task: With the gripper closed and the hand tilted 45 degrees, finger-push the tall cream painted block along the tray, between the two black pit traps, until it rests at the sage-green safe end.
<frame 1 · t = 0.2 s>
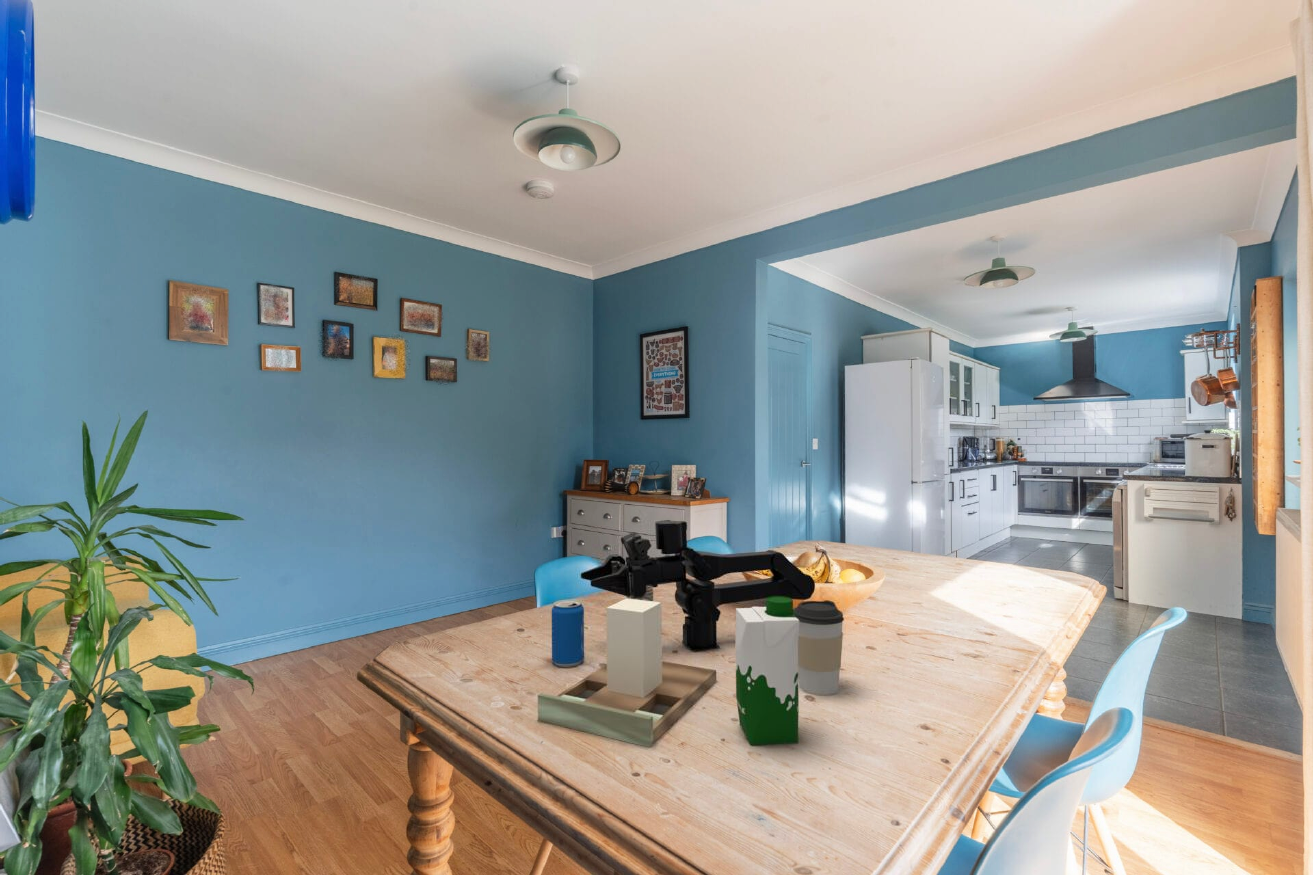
hand: (585, 579, 122), 16 cm above the table, tool horizontal, fingers open, 9 cm apart
coffee cup: (818, 688, 107), on the table
beverage can: (568, 663, 121), on the table
cream block: (635, 686, 103), point 2 cm above the table, touching tray
milk carton: (767, 734, 90), on the table
tray: (635, 698, 103), on the table
carving: (639, 634, 139), on the table
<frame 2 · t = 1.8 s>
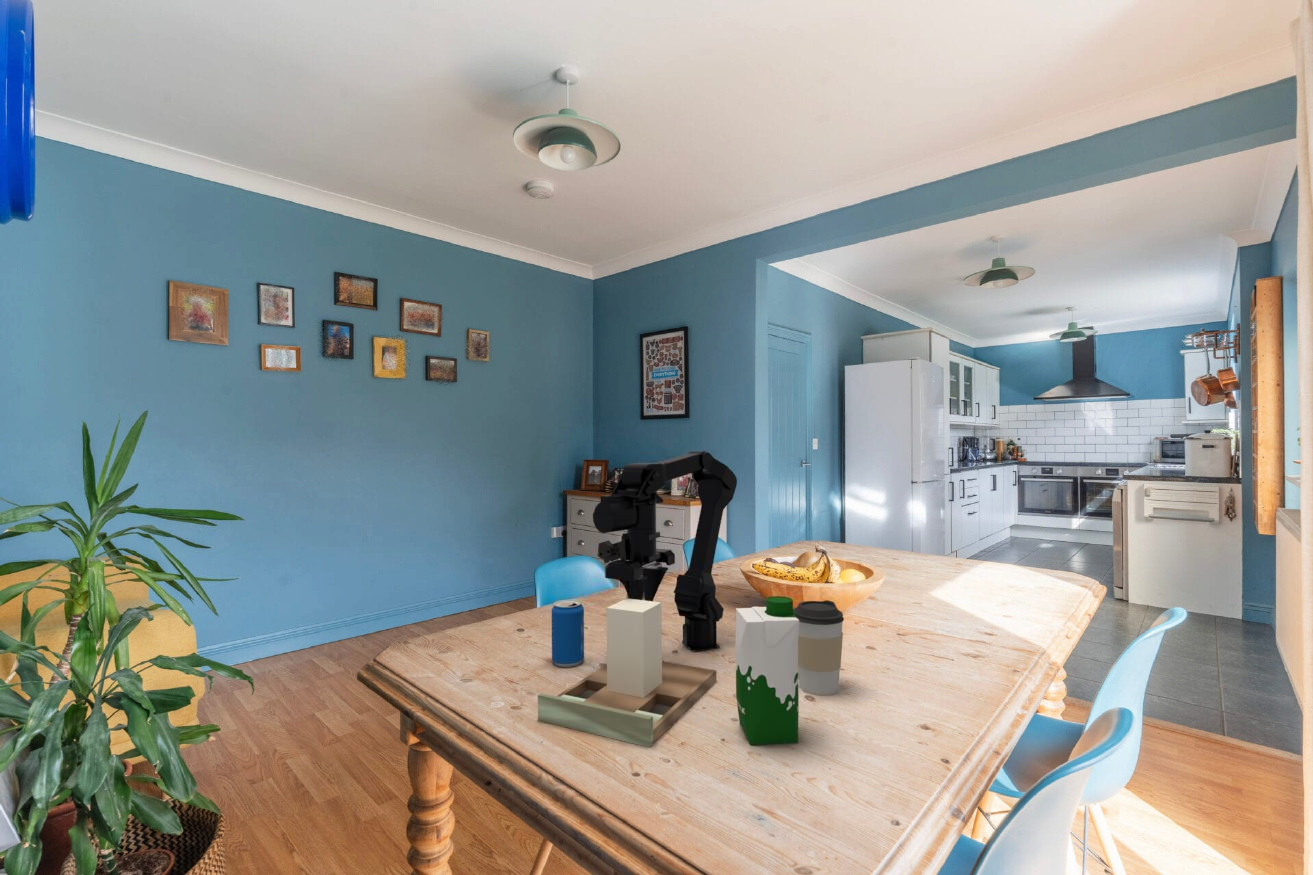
hand: (642, 607, 117), 12 cm above the table, tool pointing down, fingers open, 5 cm apart
nothing on the table moved.
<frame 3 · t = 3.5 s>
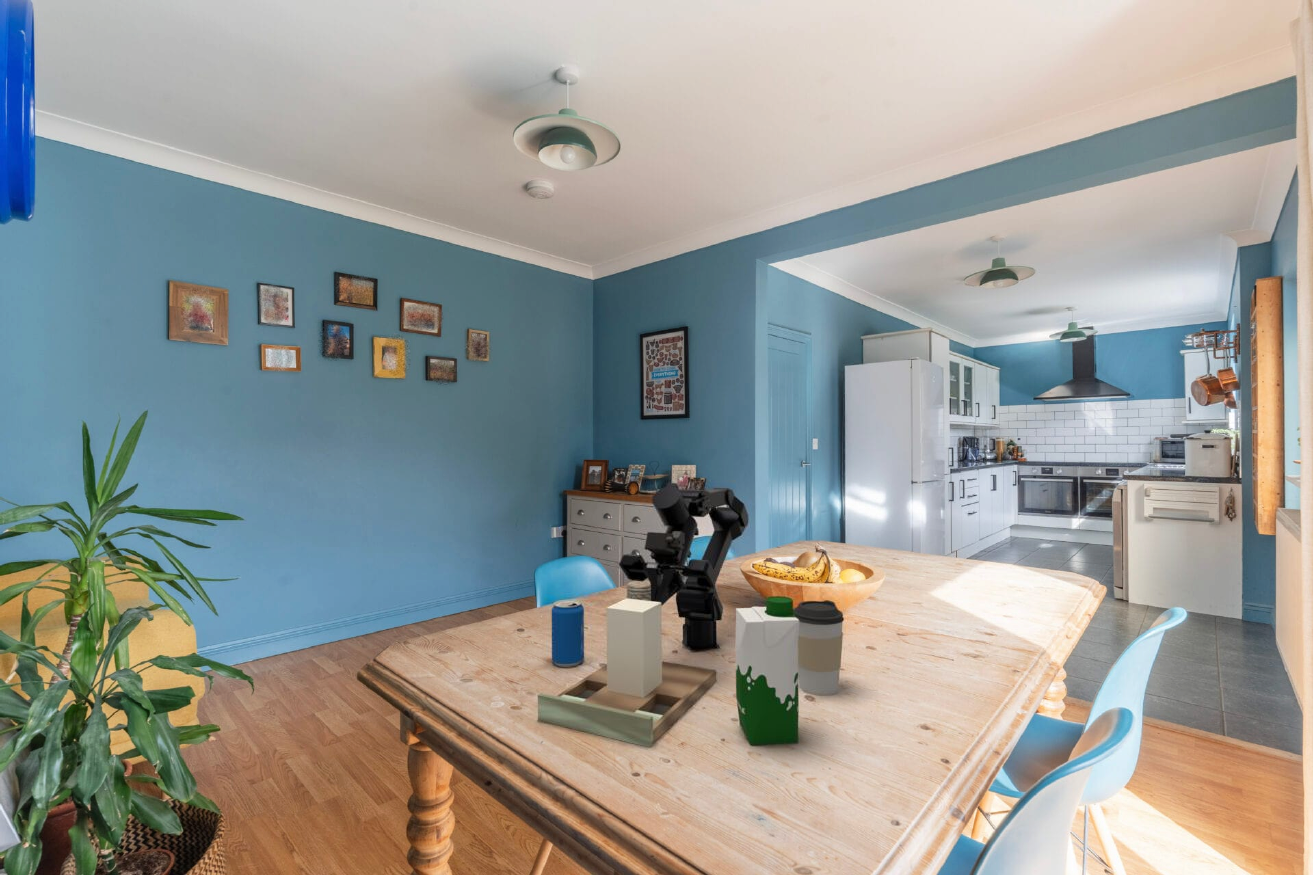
hand: (653, 609, 110), 13 cm above the table, tool tilted 45°, fingers closed
nothing on the table moved.
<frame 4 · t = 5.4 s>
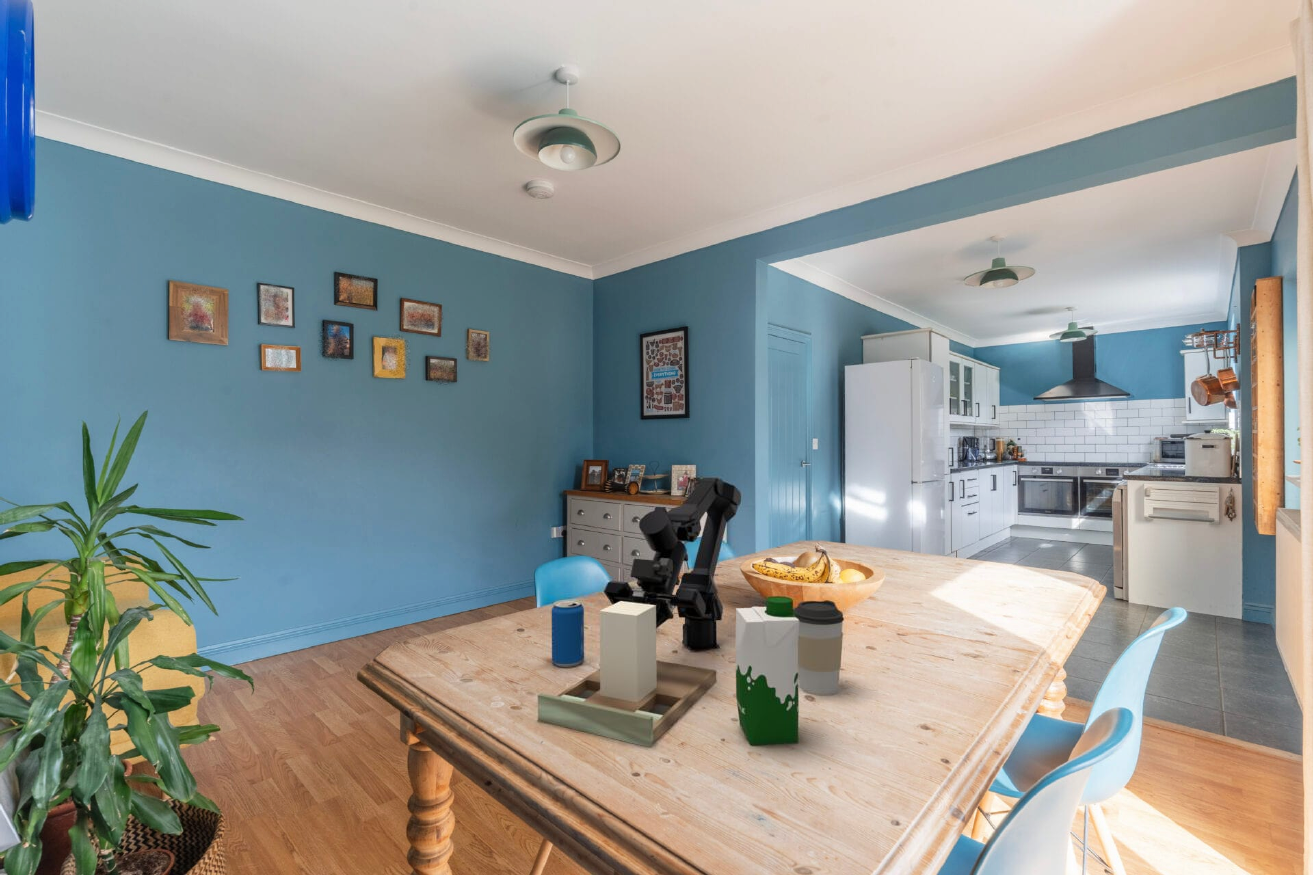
hand: (639, 640, 105), 9 cm above the table, tool tilted 45°, fingers closed
cream block: (628, 690, 101), point 2 cm above the table
everything else where it was.
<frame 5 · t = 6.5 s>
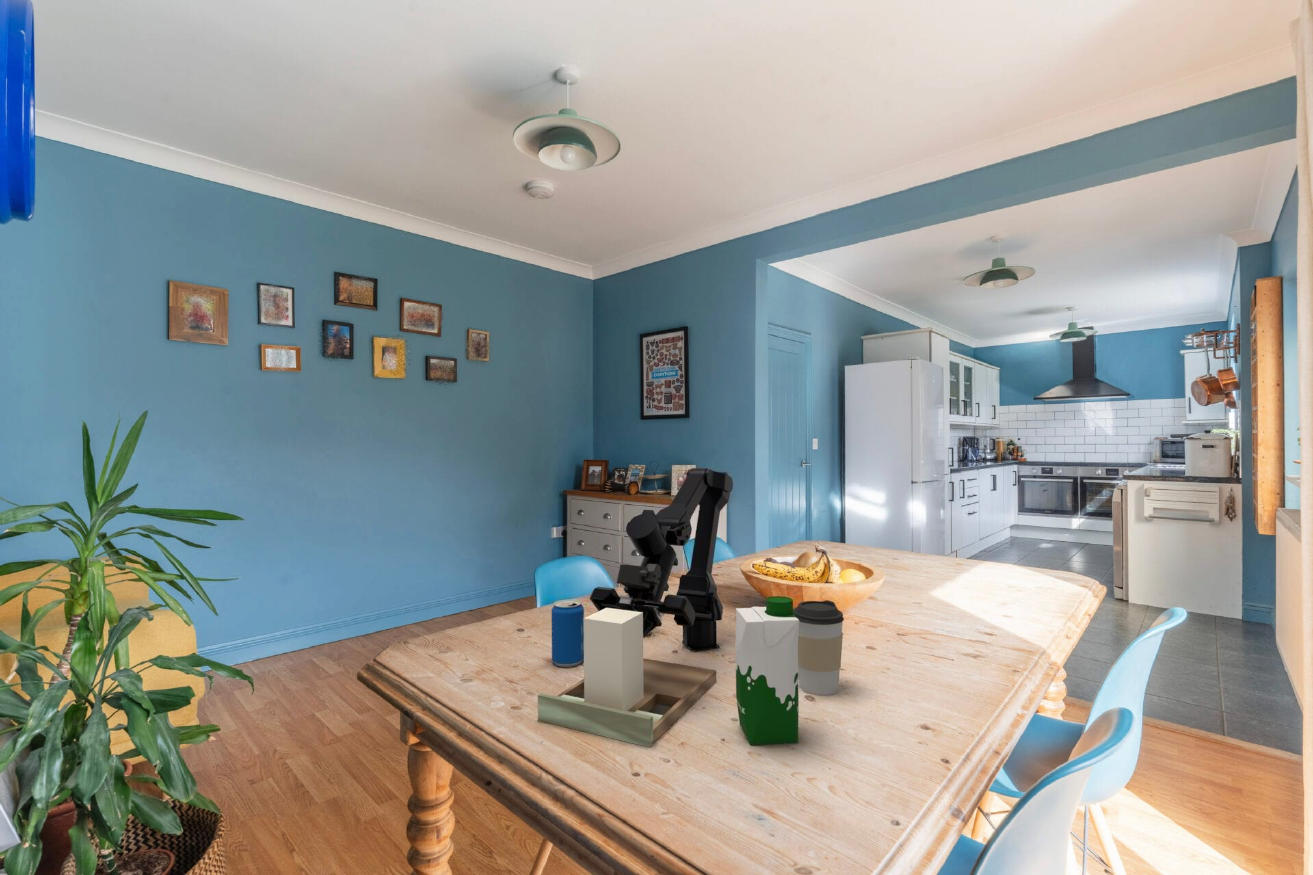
hand: (625, 650, 100), 9 cm above the table, tool tilted 45°, fingers closed
cream block: (614, 701, 97), point 2 cm above the table, touching tray
everything else where it was.
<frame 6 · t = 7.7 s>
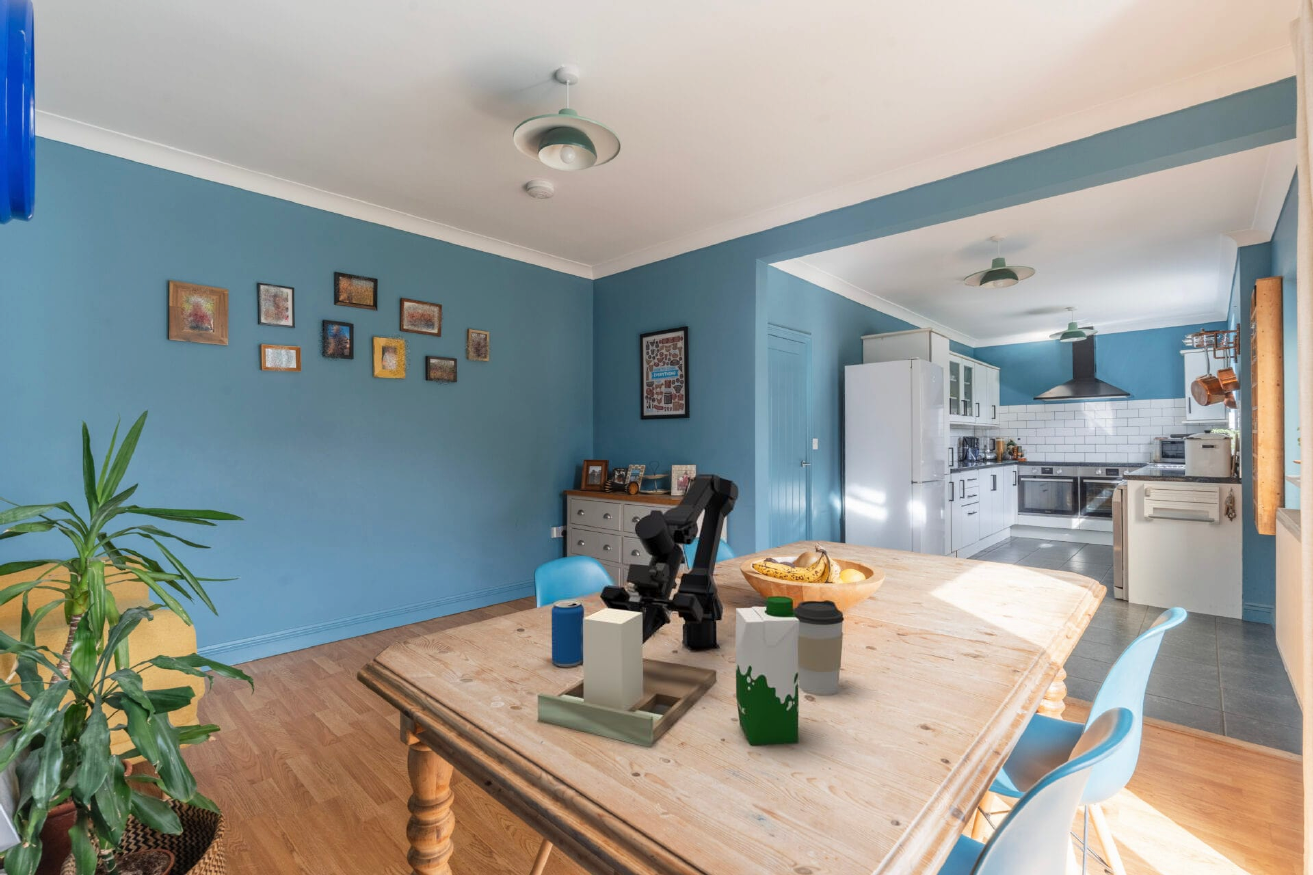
hand: (635, 646, 104), 9 cm above the table, tool tilted 45°, fingers closed
nothing on the table moved.
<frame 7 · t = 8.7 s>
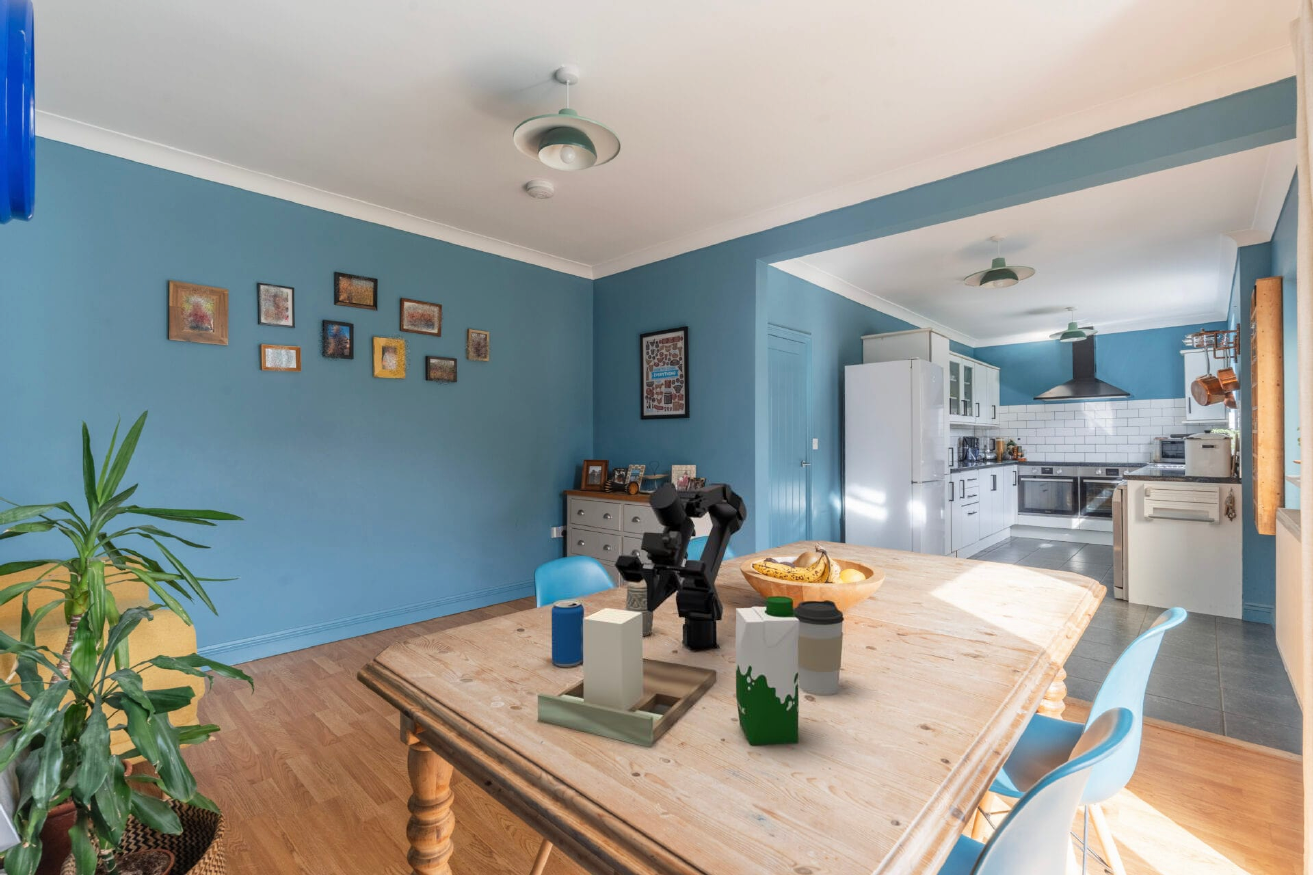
hand: (649, 610, 109), 14 cm above the table, tool tilted 45°, fingers closed
nothing on the table moved.
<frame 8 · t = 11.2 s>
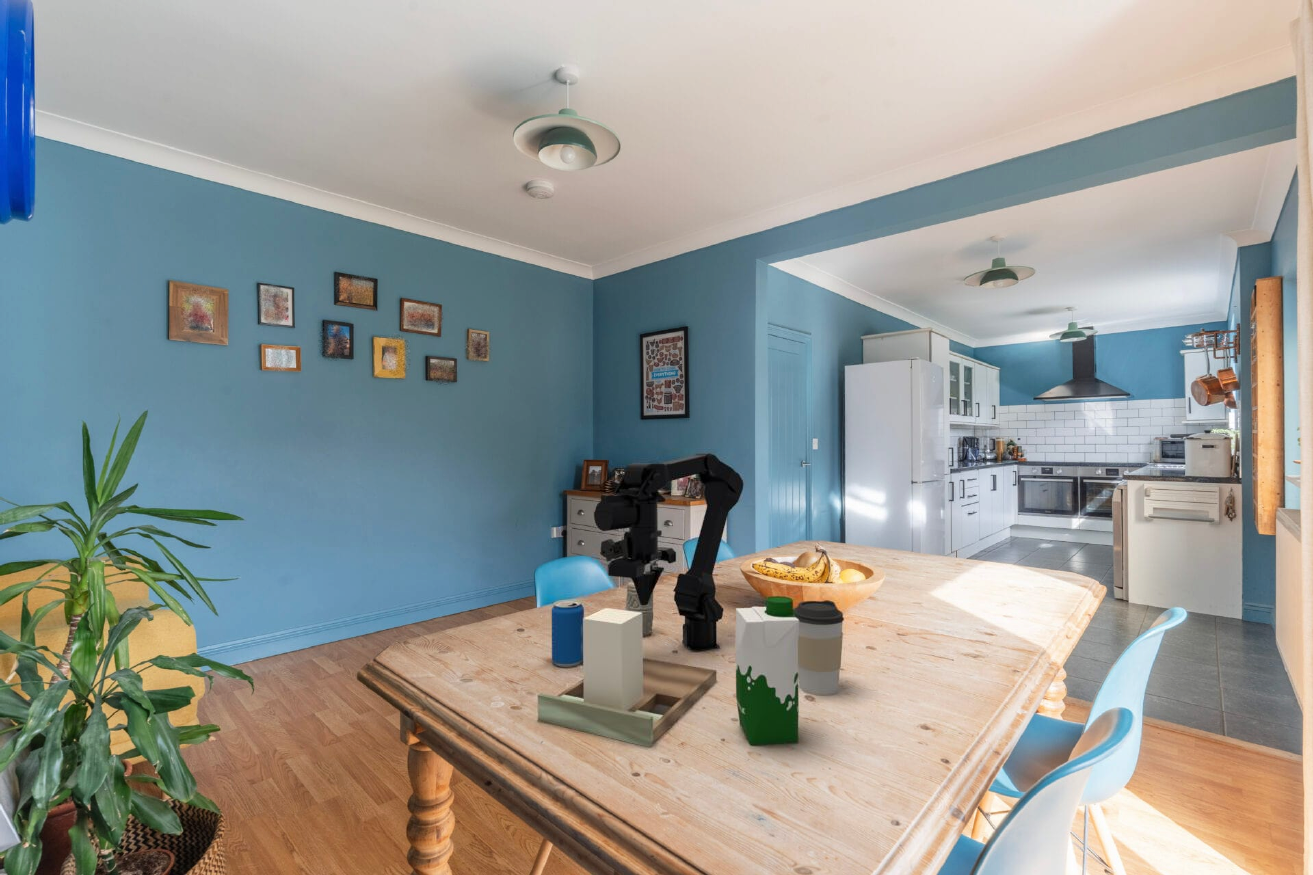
hand: (644, 604, 119), 12 cm above the table, tool pointing down, fingers closed
nothing on the table moved.
at the end: cream block 0.6 cm from the target spot on the tray, point 2.0 cm above the tray's base; cream block tilted 0°; cream block moved 7.2 cm from its start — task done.
